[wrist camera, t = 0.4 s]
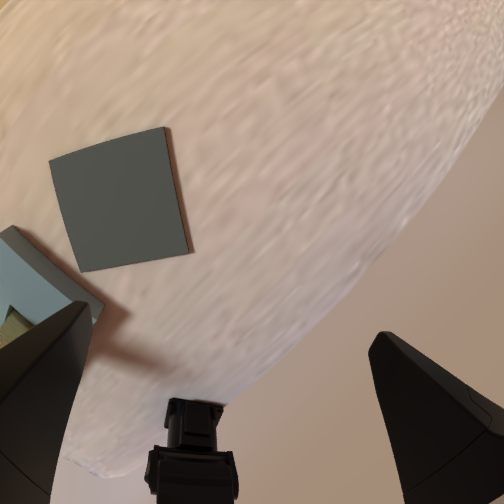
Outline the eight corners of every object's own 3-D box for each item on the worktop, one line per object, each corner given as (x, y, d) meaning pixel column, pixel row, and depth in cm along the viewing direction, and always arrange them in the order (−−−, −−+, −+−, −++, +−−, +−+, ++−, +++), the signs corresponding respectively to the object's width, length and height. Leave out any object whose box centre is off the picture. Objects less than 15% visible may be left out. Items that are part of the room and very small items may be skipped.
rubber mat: (189, 251, 24) (188, 253, 23) (82, 270, 23) (81, 272, 23) (164, 126, 20) (163, 126, 19) (51, 160, 19) (48, 161, 19)
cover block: (104, 304, 25) (96, 320, 22) (53, 379, 28) (47, 393, 26) (12, 225, 20) (-3, 234, 18) (-18, 321, 24) (-28, 333, 21)
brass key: (52, 321, 25) (-3, 420, 12) (44, 336, 25) (-6, 430, 13) (17, 292, 23) (-51, 379, 11) (11, 309, 24) (-50, 393, 11)
